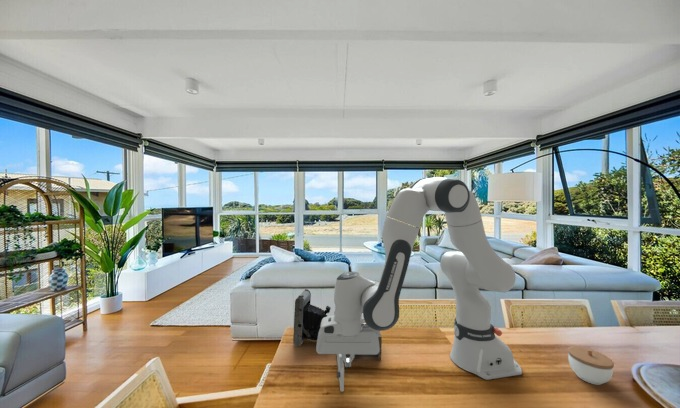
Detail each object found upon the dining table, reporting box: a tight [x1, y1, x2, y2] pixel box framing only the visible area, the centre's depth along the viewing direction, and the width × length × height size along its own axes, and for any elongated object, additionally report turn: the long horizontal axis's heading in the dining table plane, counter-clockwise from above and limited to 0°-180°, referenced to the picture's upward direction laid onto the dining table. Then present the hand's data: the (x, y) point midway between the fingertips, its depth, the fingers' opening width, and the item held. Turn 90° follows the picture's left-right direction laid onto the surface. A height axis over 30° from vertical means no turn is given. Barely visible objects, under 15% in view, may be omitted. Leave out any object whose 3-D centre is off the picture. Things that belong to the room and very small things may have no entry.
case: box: [346, 318, 382, 361], centre depth 96 cm, size 16×13×8 cm
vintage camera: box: [292, 288, 332, 347], centre depth 100 cm, size 10×16×20 cm, turn 79°
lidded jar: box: [567, 345, 615, 386], centre depth 82 cm, size 11×11×9 cm
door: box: [336, 354, 345, 392], centre depth 82 cm, size 15×2×7 cm, turn 5°
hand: (347, 365), depth 80 cm, fingers closed
